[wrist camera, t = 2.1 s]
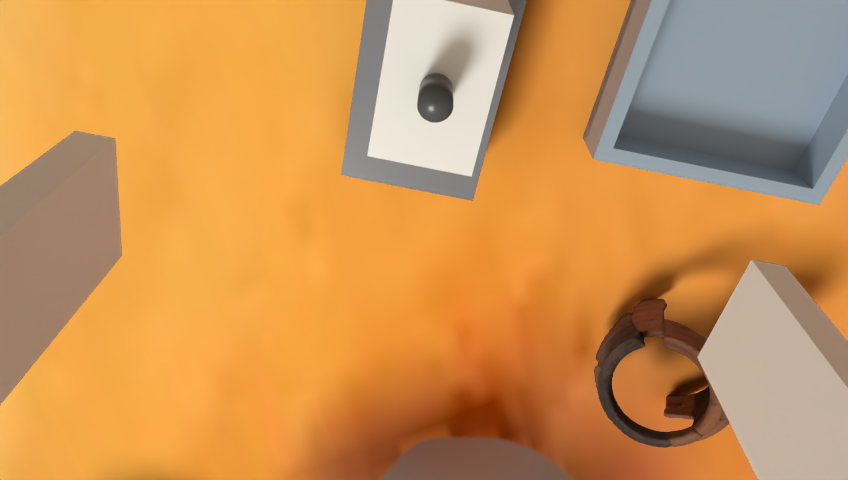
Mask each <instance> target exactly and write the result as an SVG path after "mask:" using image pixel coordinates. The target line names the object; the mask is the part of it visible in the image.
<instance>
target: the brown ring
mask: <svg viewBox="0 0 848 480" xmlns="http://www.w3.org/2000/svg"><path fill="white" fill-rule="evenodd" d="M666 306H667V304H666V302H665V300H664V299H651V300H644V301H641V302H640V303H639V304H638V305H637V306H635V307H634V312H633V313H626V314H625V315H623V317H622V318H621V319H620V320H619V321H618V322H617V323H616V324H615V325H614V326H613V328H612V329H611V330H610V331H609V333H608V334H607V335H606V337H605V338H604V340H603V341H602V343H601V345H600V348H599V350H598V352H597V355H596V359H597V361H598V365H597V366H596V367H595V369H594V374H595V382H596V387H597V390H598V395H599V399H600V402H601V405H602V407H603V409H604V411H605V412H606V414H607V416H608V418H609V419H610V420H611V421H613V423H614V425H615V426H617V427H618V428H619V429H620V430H621V431H622V432H623V433H624V434H625V435H627V436H629V437H630V438H632V439H633V440H635V441H637V442H639V443H644V444H646V445H650V446H656V447H670V446H673V447H676V446H683V445H687V444H690V443H693V442H696V441H700V440H703V439H706V438H708V437H710V436H713V435H714V434H716V433H718V432H719V431H721V430H722V429H723V428H725V427H726V426H727V425H728V424H729V423H730V422H729V420H728V418H727V416H726V414H725V412H724V410H723V408H722V406H721V404H720V402H719V400H718V398H717V396H716V394H715V392H714V390H713V388H712V386H711V384H710V382H709V380H708V378H707V376H706V374H705V372H704V370H703V368H702V366H701V364H700V362H699V360H698V358H697V357H698V355H699V353H700V352H701V350H702V348H703V346H704V344H705V343H706V341H707V339H706V338H704V337H702V336H700V335H699V334H697V333H696V332H694V331H693V330H691V329H689V328H688V327H686V326H684V325H682V324H679V323H677V322H674V321H670V320H664V310H665V308H666ZM653 336H657V337H662V338H663V341H664V346H665V347H666V348H669V349H672V350H674V351H677V352H679V353H681V354H683V355H685V356H687V357H688V358H689V359H691V360H692V361H693V362H694V363H695V364H696V365H697V366H698V367H699V368H700V370H701V371H702V373H703V374H704V376H705V378H706V380H707V382H708V383H709V386H708V387H707V388H706V389H704V390H703V391H700V392H698V393H695V394H691V395H683V396H667V397H666V409H665V410H664V416H665V417H669V418H683V419H694V422H693V425H692V426H691V427H689V428H686V429H683V430H678V431H671V432H659V431H654V430H651V429H648V428H645V427H643V426H641V425H638V424H637V423H635V422H634V421H632V420H631V419H630V418H629V417H628V416H626V415H625V414H624V413H623V411H622V410H621V409H620V407H619V406H618V404H617V402H616V400H615V398H614V395H613V390H612V377H613V372H614V371H615V368H616V366H617V365H618V363H619V362H620V360H621V359H623V358H624V357H625V356H626V355H627V354H629V353H630V352H632V351H634V350H636V349H639V348H642V347H645V343H644V337H653Z"/></svg>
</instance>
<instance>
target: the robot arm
mask: <svg viewBox="0 0 848 480" xmlns="http://www.w3.org/2000/svg"><path fill="white" fill-rule="evenodd" d="M121 256H122V246H121V228H120V211H119V194H118V177H117V160H116V142H115V138H110V137H105V136H100V135H94V134H89V133H84V132H79V131H74V132H73V133H72V134H70V135H69V136H67V137H66V138H65V139H63V140H62V141H61V142H59V143H58V144H57V145H55V146H54V147H53V148H51V149H50V150H49V151H47V152H46V153H45V154H43V155H42V156H40V157H39V158H38V159H36V160H35V161H34V162H32V163H31V164H30V165H28V166H27V167H26V168H24V169H23V170H22V171H20V172H19V173H17V174H16V175H15V176H13V177H12V178H11V179H9V180H8V181H7V182H5V183H4V184H3V185H1V186H0V405H1V403H2V402H3V401H4V400H5V399H6V397H7V396H8V395H9V394H10V392H11V391H12V390H13V389H14V387H15V386H16V385H17V384H18V383H19V381H20V380H21V379H22V378H23V376H24V375H25V374H26V373H27V372H28V370H29V369H30V368H31V367H32V365H33V364H34V363H35V362H36V360H37V359H38V358H39V357H40V356H41V354H42V353H43V352H44V351H45V349H46V348H47V347H48V346H49V344H50V343H51V342H52V341H53V340H54V338H55V337H56V336H57V335H58V333H59V332H60V331H61V330H62V329H63V327H64V326H65V325H66V324H67V322H68V321H69V320H70V319H71V317H72V316H73V315H74V314H75V313H76V311H77V310H78V309H79V308H80V306H81V305H82V304H83V303H84V302H85V300H86V299H87V298H88V297H89V295H90V294H91V293H92V292H93V290H94V289H95V288H96V287H97V286H98V284H99V283H100V282H101V281H102V279H103V278H104V277H105V276H106V274H107V273H108V272H109V271H110V270H111V268H112V267H113V266H114V265H115V263H116V262H117V261H118V260H119V259H120V257H121ZM697 358H698V360H699V362H700V364H701V366H702V368H703V370H704V372H705V374H706V376H707V378H708V380H709V382H710V384H711V386H712V388H713V390H714V392H715V394H716V396H717V398H718V400H719V402H720V404H721V406H722V408H723V410H724V412H725V414H726V416H727V418H728V420H729V422H730V424H731V426H732V428H733V431H734V433H735V435H736V437H737V439H738V441H739V443H740V445H741V447H742V449H743V451H744V453H745V455H746V457H747V459H748V461H749V463H750V465H751V467H752V469H753V471H754V473H755V475H756V477H757V479H758V480H848V341H847V340H846V339H845V338H844V336H843V335H842V334H841V333H840V332H839V330H838V329H837V328H836V327H835V326H834V324H833V323H832V322H831V321H830V319H829V318H828V317H827V316H826V315H825V313H824V312H823V311H822V310H821V308H820V307H819V306H818V305H817V304H816V302H815V301H814V300H813V299H812V298H811V296H810V295H809V294H808V293H807V291H806V290H805V289H804V288H803V287H802V285H801V284H800V283H799V282H798V281H797V279H796V278H795V277H794V276H793V274H792V273H791V272H790V271H789V270H788V268H787V267H786V266H782V265H777V264H772V263H767V262H761V261H756V260H751V261H750V263H749V265H748V267H747V268H746V270H745V272H744V274H743V276H742V277H741V279H740V281H739V283H738V285H737V286H736V288H735V290H734V292H733V294H732V296H731V297H730V299H729V301H728V303H727V305H726V306H725V308H724V310H723V312H722V314H721V315H720V317H719V319H718V321H717V323H716V324H715V326H714V328H713V330H712V332H711V333H710V335H709V337H708V339H707V341H706V343H705V344H704V346H703V348H702V350H701V352H700V353H699V355H698V357H697Z"/></svg>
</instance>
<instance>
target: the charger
mask: <svg viewBox="0 0 848 480" xmlns="http://www.w3.org/2000/svg"><path fill="white" fill-rule="evenodd" d="M513 18H514V14H513V11H512V9H511V6H510V4H509V1H508V0H393V4H392V10H391V16H390V22H389V28H388V34H387V40H386V46H385V52H384V58H383V64H382V70H381V76H380V82H379V88H378V94H377V100H376V106H375V112H374V118H373V124H372V130H371V136H370V142H369V148H368V154H367V156H369V157H374V158H379V159H384V160H390V161H395V162H400V163H405V164H410V165H415V166H420V167H425V168H430V169H435V170H440V171H445V172H450V173H455V174H461V175H466V176H471V177H472V173H473V169H474V166H475V162H476V158H477V154H478V151H479V147H480V143H481V139H482V135H483V132H484V128H485V124H486V120H487V116H488V113H489V109H490V105H491V101H492V97H493V94H494V90H495V86H496V82H497V79H498V75H499V71H500V67H501V63H502V60H503V56H504V52H505V48H506V44H507V41H508V37H509V33H510V29H511V25H512V22H513Z"/></svg>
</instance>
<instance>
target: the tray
mask: <svg viewBox="0 0 848 480" xmlns="http://www.w3.org/2000/svg"><path fill="white" fill-rule="evenodd" d="M583 139H584V141H585V143H586V145H587V147H588V149H589V151H590V154H591V156H592V158H593V159H594V160H599V161H604V162H609V163H614V164H619V165H624V166H629V167H634V168H639V169H644V170H649V171H654V172H658V173H663V174H668V175H673V176H678V177H683V178H688V179H693V180H698V181H703V182H708V183H713V184H718V185H723V186H728V187H733V188H738V189H743V190H748V191H752V192H757V193H762V194H767V195H772V196H777V197H782V198H787V199H792V200H797V201H802V202H807V203H812V204H817V205H820V203H821V202H822V200H823V198H824V197H825V195H826V193H827V192H828V190H829V188H830V186H831V185H832V183H833V181H834V180H835V178H836V176H837V175H838V173H839V171H840V170H841V168H842V166H843V165H844V163H845V161H846V159H847V158H848V0H631V2H630V5H629V8H628V11H627V14H626V16H625V19H624V22H623V25H622V28H621V31H620V33H619V36H618V39H617V42H616V45H615V48H614V51H613V53H612V56H611V59H610V62H609V65H608V68H607V70H606V73H605V76H604V79H603V82H602V85H601V87H600V90H599V93H598V96H597V99H596V102H595V105H594V107H593V110H592V113H591V116H590V119H589V122H588V124H587V127H586V130H585V133H584V136H583Z"/></svg>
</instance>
